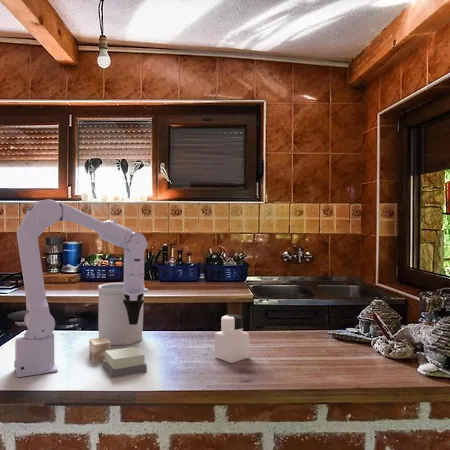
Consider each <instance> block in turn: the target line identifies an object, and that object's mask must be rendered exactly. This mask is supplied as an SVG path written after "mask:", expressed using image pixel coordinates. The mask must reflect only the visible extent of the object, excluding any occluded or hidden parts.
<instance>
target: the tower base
mask: <svg viewBox="0 0 450 450" xmlns="http://www.w3.org/2000/svg"><path fill="white" fill-rule="evenodd" d="M147 366H148V365H147V363H146V362H145V364H144V365H138V366H132V367H126V368H120V369H113V368H112V367H111V366H110V365H109V364H108V363H107V362H106V361H105V360H103V361H102V368H103V369H104V370H105V372H106V373H107V374H108V375H109V377H110V378H111V379H113V378H119V377H127V376H131V375H137V374H138V375H139V374H143V373H147V372H148V370H147V369H148V367H147Z"/></svg>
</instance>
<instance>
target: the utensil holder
mask: <svg viewBox="0 0 450 450" xmlns="http://www.w3.org/2000/svg"><path fill="white" fill-rule="evenodd" d="M123 289H124V281H123V282H121V281H120V282H119V281H118V282H108V283H107V282H106V283H102V284H99V285H98V286H97V291H98V320H97V322H98V325H97V326H98V338H104V337H105V338H106V339H108V340H109V341H110V342H111V346H126V345H131V344H136V343H138V342H140V341H141V340H142V339H143V328H144V302H143V304H142V306H141V309H140V313H139V319H138V323H137V325H130V324H129V320H128V314H127V310H126V307H125V305H124V303H123V299H125V297H124V294H125V293H123ZM144 289H146V287H145V285H144ZM141 300H144V301H145V292H144V293H143V297H142V299H141Z"/></svg>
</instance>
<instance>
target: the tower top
mask: <svg viewBox="0 0 450 450" xmlns="http://www.w3.org/2000/svg"><path fill="white" fill-rule="evenodd" d="M105 361H106V362H107V363H108V364H109V365H110V366H111V367H112V368H113V369H120V368H126V367H132V366H138V365H144V364H145V363H146V362H145V353H143V352H142V351H140V350H139V349H138V348H137V347H135V346H131V347H129V346H128V347H124V348H116V349H111V350H108V351H105Z"/></svg>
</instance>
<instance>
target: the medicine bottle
mask: <svg viewBox="0 0 450 450" xmlns="http://www.w3.org/2000/svg"><path fill="white" fill-rule="evenodd" d="M220 320H221V321H220V325H221V328H220V330H221V331H218V332H214V358H215V359H219V360H222V361H224V362H227V363H230V364H233V363H236V362H237V363H238V362H240V361H243V360H247V359H249V358H250V333H249V332H247V331H244V329H243V327H244V325H243V323H244V321H243V316H241V315H239V314H231V313H230V314H225V315H223V316H222V317H221V319H220Z"/></svg>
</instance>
